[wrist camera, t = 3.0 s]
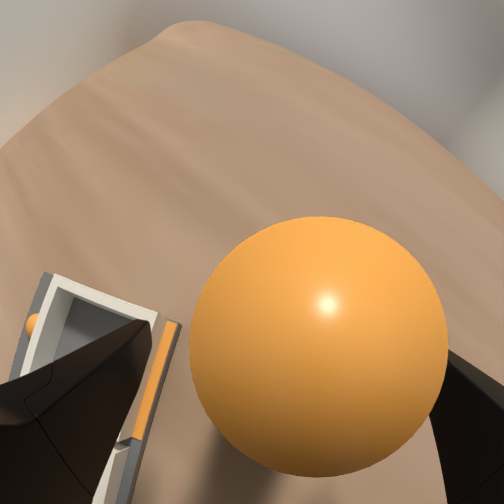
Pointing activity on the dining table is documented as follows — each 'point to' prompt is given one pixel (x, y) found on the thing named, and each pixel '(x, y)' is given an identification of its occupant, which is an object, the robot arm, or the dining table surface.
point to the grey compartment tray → (81, 333)
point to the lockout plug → (318, 346)
